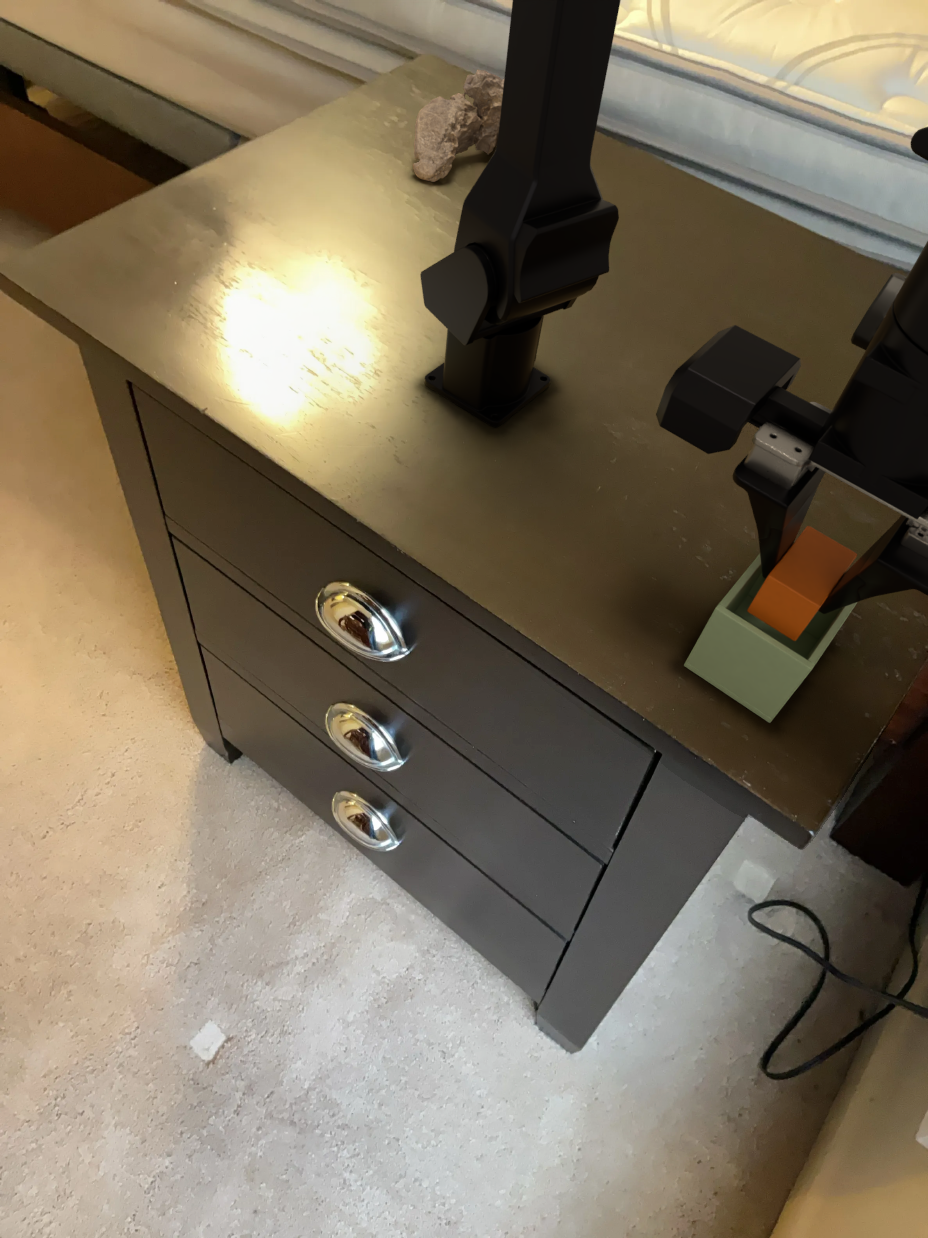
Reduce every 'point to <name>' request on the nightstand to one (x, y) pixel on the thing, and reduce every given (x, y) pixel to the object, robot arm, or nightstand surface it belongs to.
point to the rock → (457, 125)
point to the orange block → (801, 582)
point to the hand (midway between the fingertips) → (796, 590)
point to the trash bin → (758, 649)
